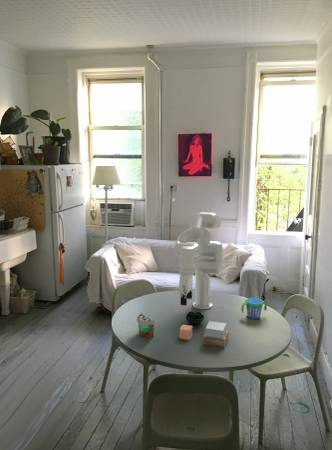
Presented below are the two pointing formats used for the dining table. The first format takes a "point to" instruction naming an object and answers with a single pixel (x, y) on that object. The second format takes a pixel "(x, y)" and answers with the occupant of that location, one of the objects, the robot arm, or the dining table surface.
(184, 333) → the terracotta cube
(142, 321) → the food container
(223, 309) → the dining table surface
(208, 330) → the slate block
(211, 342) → the walnut slab
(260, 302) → the snack cup
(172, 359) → the dining table surface
